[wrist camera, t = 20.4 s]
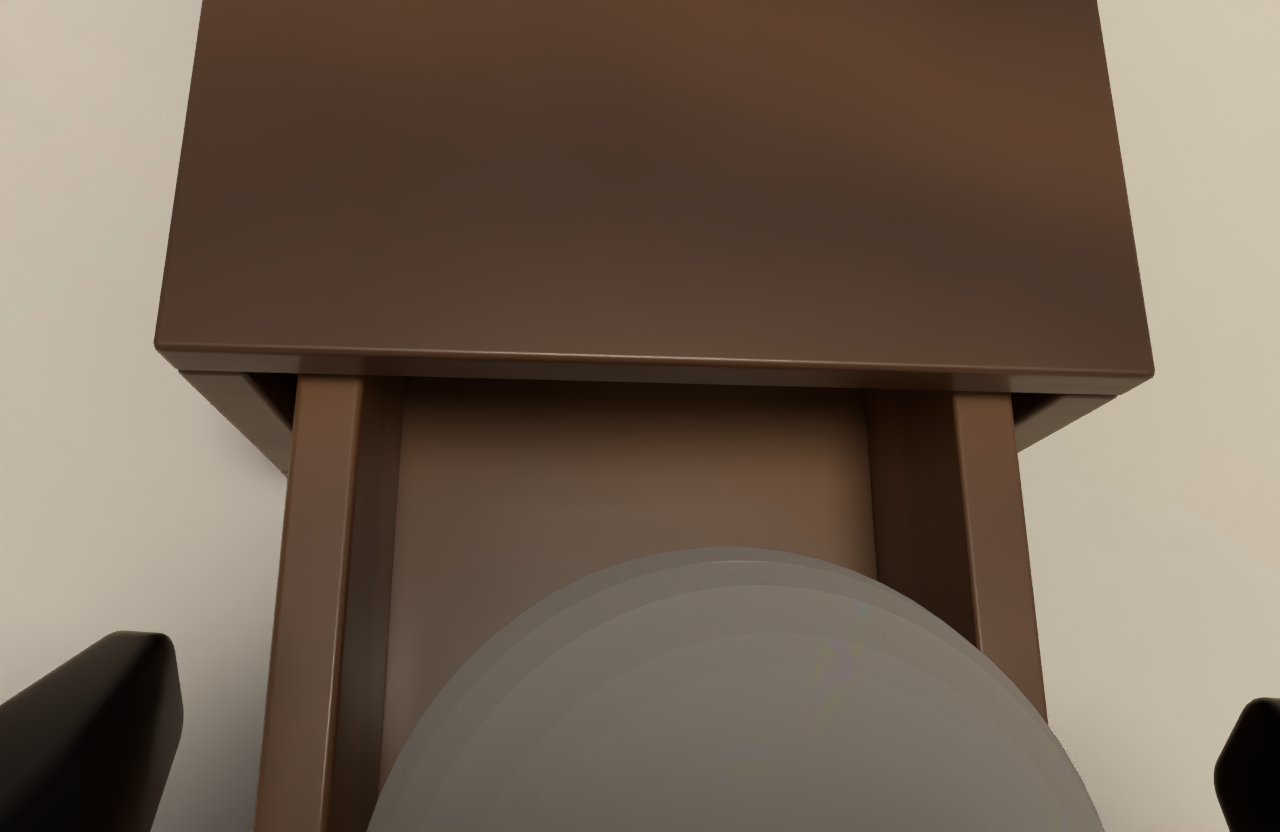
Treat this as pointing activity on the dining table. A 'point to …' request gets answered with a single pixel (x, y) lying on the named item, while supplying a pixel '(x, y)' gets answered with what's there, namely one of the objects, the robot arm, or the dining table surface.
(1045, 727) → the light bulb
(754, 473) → the drawer
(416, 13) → the cabinet
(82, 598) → the dining table surface
